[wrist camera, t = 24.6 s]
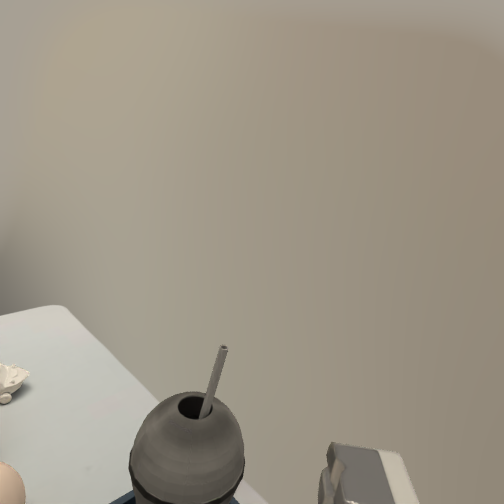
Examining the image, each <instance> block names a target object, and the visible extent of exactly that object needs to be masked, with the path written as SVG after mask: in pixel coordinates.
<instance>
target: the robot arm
mask: <svg viewBox="0 0 504 504" xmlns="http://www.w3.org/2000/svg"><path fill="white" fill-rule="evenodd" d="M327 462H328V467H326V468H325V469H323V470H322V473H321V477H320V482H319V491H318V504H420V503H419V500H418V498H417V496H416V493H415V490H414V488H413V485H412V483H411V480H410V478H409V475H408V473H407V470H406V468H405V465H404V463H403V460H402V457H401V455H400V454H399V453H398V452H394V451H388V450H381V449H372V448H366V447H360V446H354V445H347V444H341V443H335V442H331V444H330V446H329V448H328V451H327Z"/></svg>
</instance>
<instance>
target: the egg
mask: <svg viewBox="0 0 504 504" xmlns="http://www.w3.org/2000/svg"><path fill="white" fill-rule="evenodd" d="M25 498H26V496H25V487H24V484H23V481H22V478H21V477H20V475H19V474H18V473H17V472H16V471H15V470H14V469H13V468H12V467H11V466H9V465H7V464H6V463H4V462H0V504H25Z"/></svg>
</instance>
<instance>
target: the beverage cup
mask: <svg viewBox="0 0 504 504" xmlns="http://www.w3.org/2000/svg"><path fill="white" fill-rule="evenodd" d="M227 352H228V347H227V346H226V345H220V348H219V351H218V354H217V358H216V361H215V364H214V368H213V371H212V375H211V378H210V381H209V385H208V388H207V392H206V393H201V392H184V393H180V394H176V395H173V396H171V397H169V398H167V399H165V400H164V401H162V402H161V403H160V404H158V405H157V406H156V407H155V408H154V409H153V410H152V411H151V412H150V413H149V414H148V415H147V417H146V418H145V420H144V422H143V424H142V425H141V427H140V429H139V431H138V433H137V435H136V438H135V441H134V446H133V448H132V450H131V452H130V459H129V468H128V469H129V472H130V475H131V481H132V486H133V491H134V495H135V498H136V504H229V503H230V501H231V499H232V497H233V495H234V493H235V491H236V489H237V487H238V485H239V483H240V482H241V480H242V478H243V473H244V466H245V459H244V443H243V439H242V434H241V430H240V427H239V424H238V422H237V420H236V418H235V417H234V415H233V414H232V412H231V411H230V409H229V408H228V407H227V406H226V405H225V404H224V403H222V402H221V401H220V400H219V399H217V398H215V397H214V395H215V391H216V388H217V385H218V381H219V378H220V375H221V372H222V368H223V365H224V362H225V358H226V355H227Z"/></svg>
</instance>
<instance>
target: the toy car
mask: <svg viewBox="0 0 504 504" xmlns="http://www.w3.org/2000/svg"><path fill="white" fill-rule="evenodd" d="M28 375H29V372H28V371H26V370H24V369H22V368H19V367H16V365H15V364H13V365H12V366H5V365H3V364H2V363H0V402H1V403H3V404H5V403H8V402H10V400H11V395H10V394H12V393H13V392H15V391H16V390H17V389H19V388H20V387H21V386H22V385H21V384H22V382H23V381H24V379H25V378H27V377H28ZM7 392H8V393H7ZM3 393H4V394H3Z"/></svg>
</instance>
